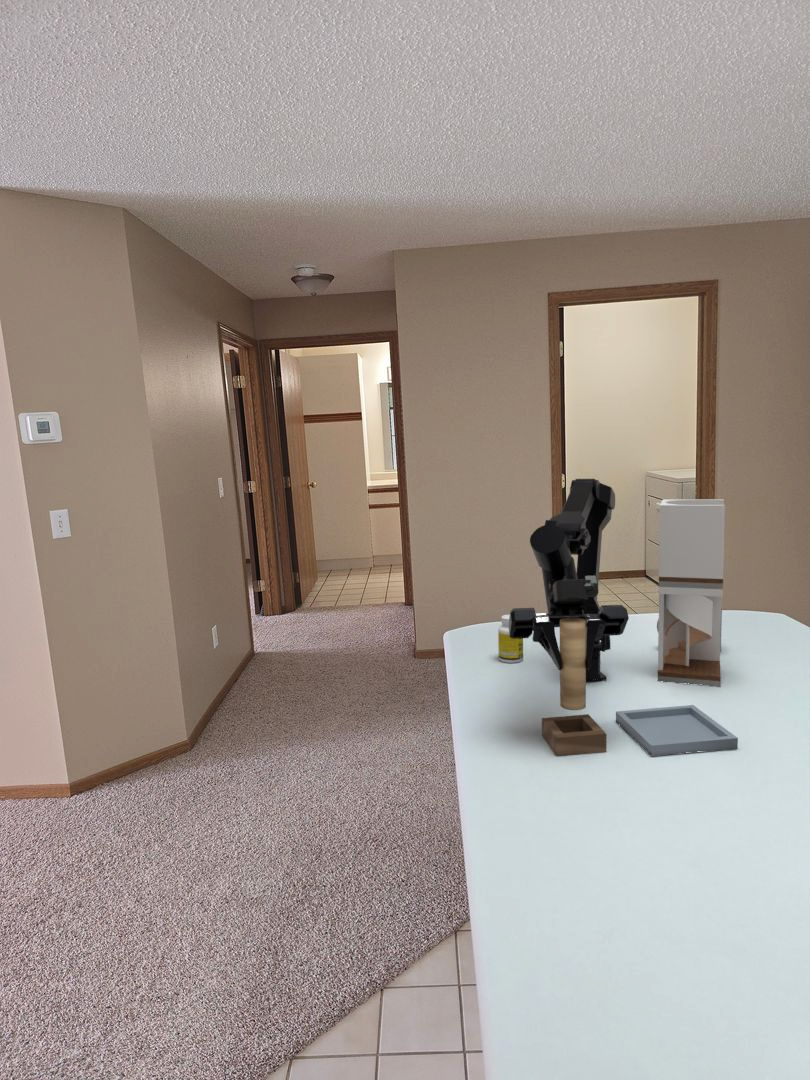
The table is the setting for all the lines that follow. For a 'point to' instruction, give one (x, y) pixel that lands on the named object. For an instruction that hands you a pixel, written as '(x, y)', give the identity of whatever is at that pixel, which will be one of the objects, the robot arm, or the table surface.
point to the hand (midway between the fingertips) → (574, 668)
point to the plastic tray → (675, 730)
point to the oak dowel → (573, 663)
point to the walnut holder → (573, 735)
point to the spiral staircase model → (690, 590)
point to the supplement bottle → (509, 644)
